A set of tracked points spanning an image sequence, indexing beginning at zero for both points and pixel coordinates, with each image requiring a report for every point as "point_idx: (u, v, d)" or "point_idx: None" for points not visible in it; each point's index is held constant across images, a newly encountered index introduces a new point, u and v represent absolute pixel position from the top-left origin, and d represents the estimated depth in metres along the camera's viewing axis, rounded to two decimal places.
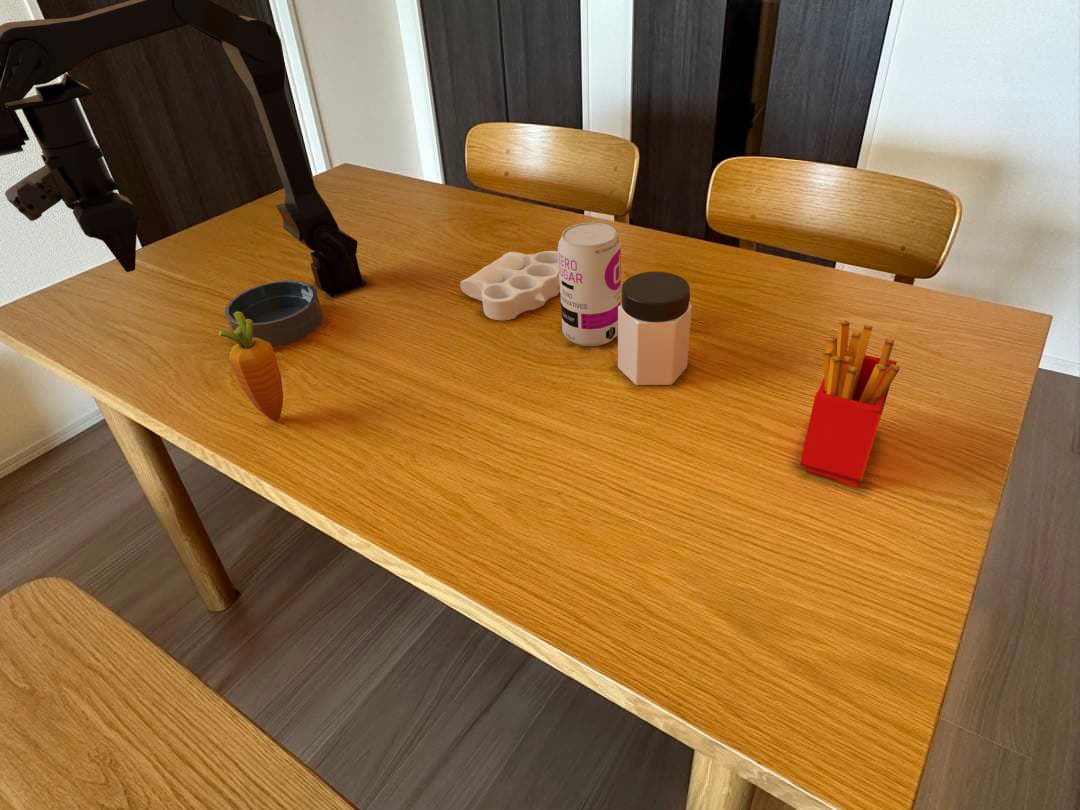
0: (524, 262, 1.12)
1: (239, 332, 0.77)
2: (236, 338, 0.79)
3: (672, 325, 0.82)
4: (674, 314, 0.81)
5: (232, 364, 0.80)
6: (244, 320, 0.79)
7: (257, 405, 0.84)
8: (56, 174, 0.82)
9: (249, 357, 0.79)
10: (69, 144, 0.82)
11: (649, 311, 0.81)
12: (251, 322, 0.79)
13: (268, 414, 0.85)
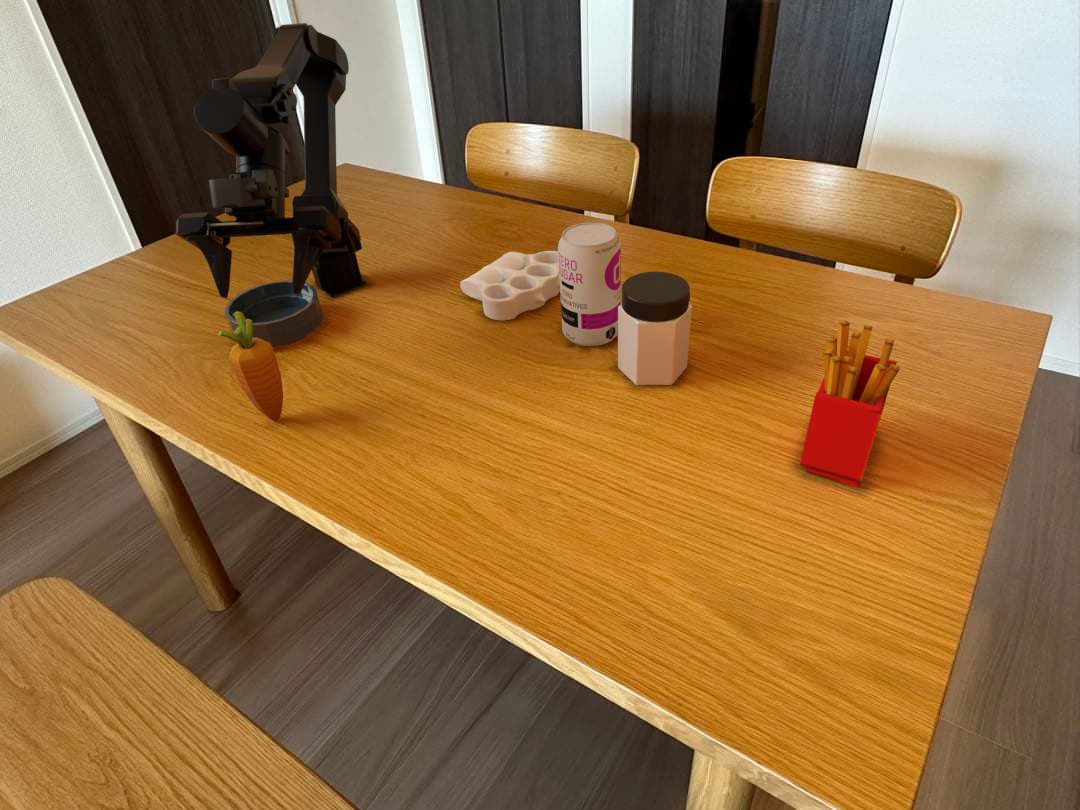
0: (524, 262, 1.12)
1: (239, 332, 0.77)
2: (236, 338, 0.79)
3: (672, 325, 0.82)
4: (674, 314, 0.81)
5: (232, 364, 0.80)
6: (244, 320, 0.79)
7: (257, 405, 0.84)
8: None
9: (249, 357, 0.79)
10: (282, 170, 0.87)
11: (649, 311, 0.81)
12: (251, 322, 0.79)
13: (268, 414, 0.85)
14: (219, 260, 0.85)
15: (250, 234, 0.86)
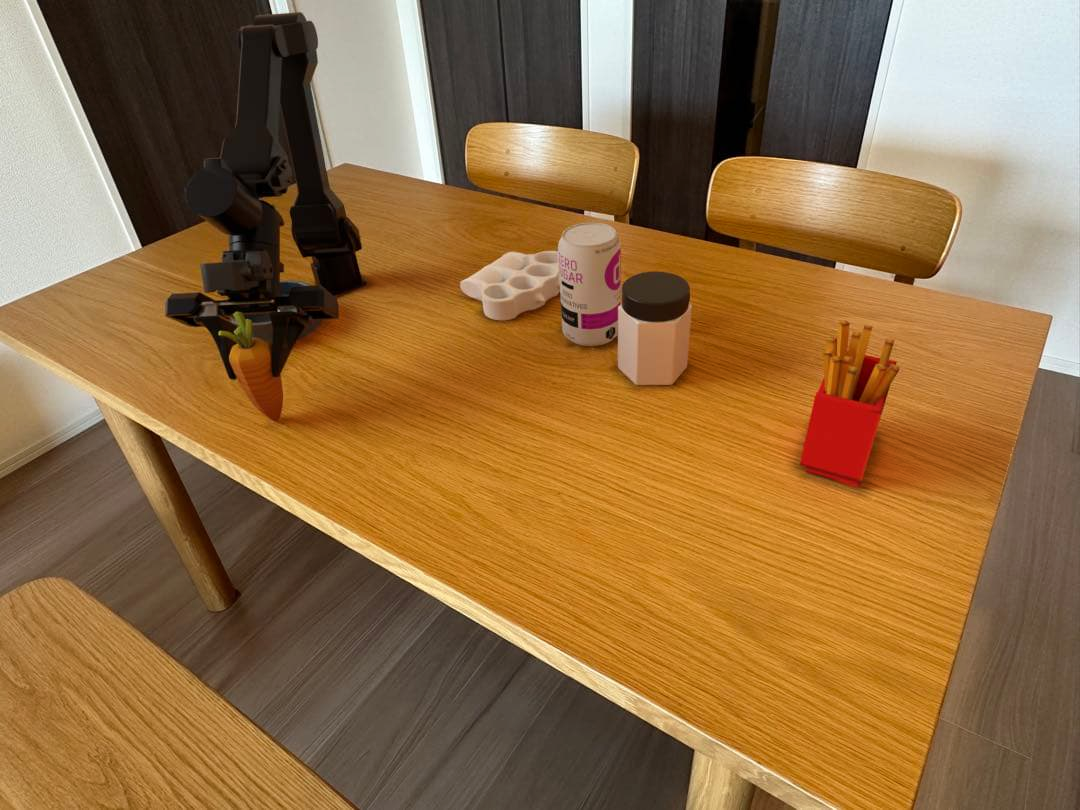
0: (524, 262, 1.12)
1: (239, 332, 0.77)
2: (236, 338, 0.79)
3: (672, 325, 0.82)
4: (674, 314, 0.81)
5: (232, 364, 0.80)
6: (244, 320, 0.79)
7: (257, 405, 0.84)
8: None
9: (248, 357, 0.79)
10: (276, 246, 0.83)
11: (649, 311, 0.81)
12: (251, 322, 0.79)
13: (268, 414, 0.85)
14: (228, 341, 0.81)
15: (243, 313, 0.82)
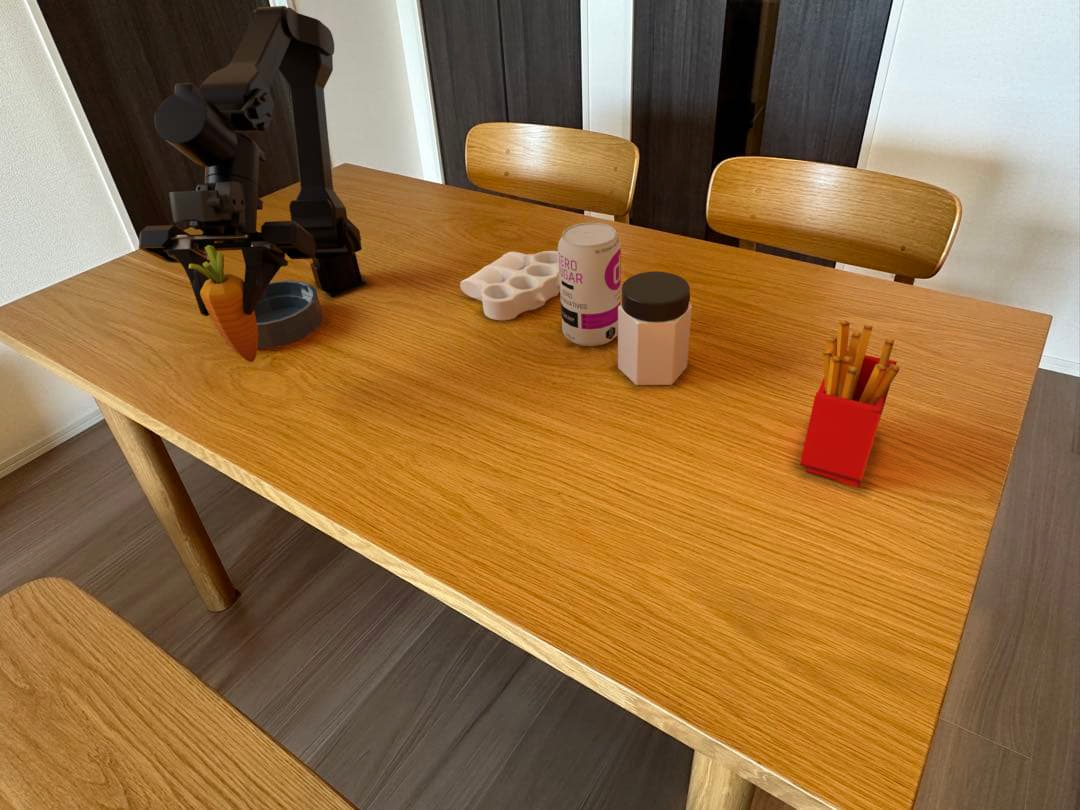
0: (524, 262, 1.12)
1: (208, 265, 0.75)
2: (207, 272, 0.77)
3: (672, 325, 0.82)
4: (674, 314, 0.81)
5: (203, 299, 0.79)
6: (216, 254, 0.78)
7: (230, 344, 0.82)
8: None
9: (219, 292, 0.77)
10: (254, 181, 0.81)
11: (649, 311, 0.81)
12: (222, 256, 0.77)
13: (242, 353, 0.83)
14: (201, 276, 0.80)
15: (218, 249, 0.81)
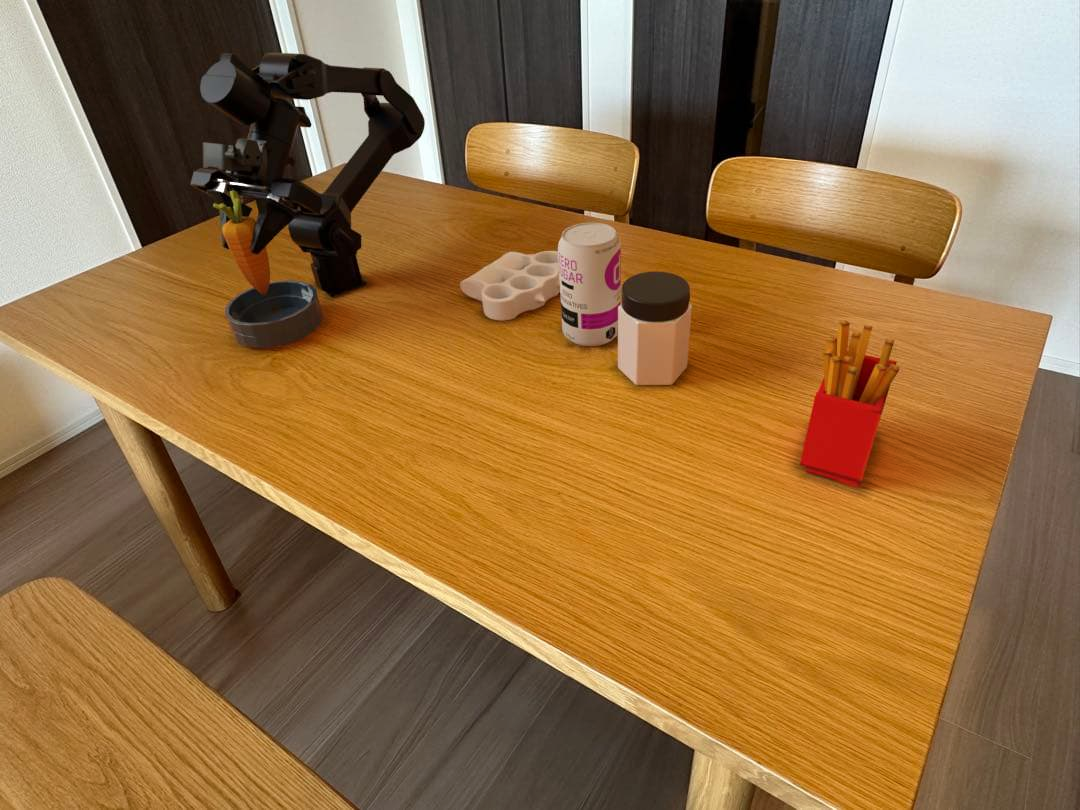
0: (524, 262, 1.12)
1: (222, 206, 0.90)
2: None
3: (672, 325, 0.82)
4: (674, 314, 0.81)
5: None
6: None
7: (244, 275, 0.97)
8: (264, 153, 0.92)
9: (232, 230, 0.92)
10: (285, 142, 0.94)
11: (649, 311, 0.81)
12: (239, 201, 0.92)
13: (253, 285, 0.98)
14: None
15: (248, 195, 0.96)
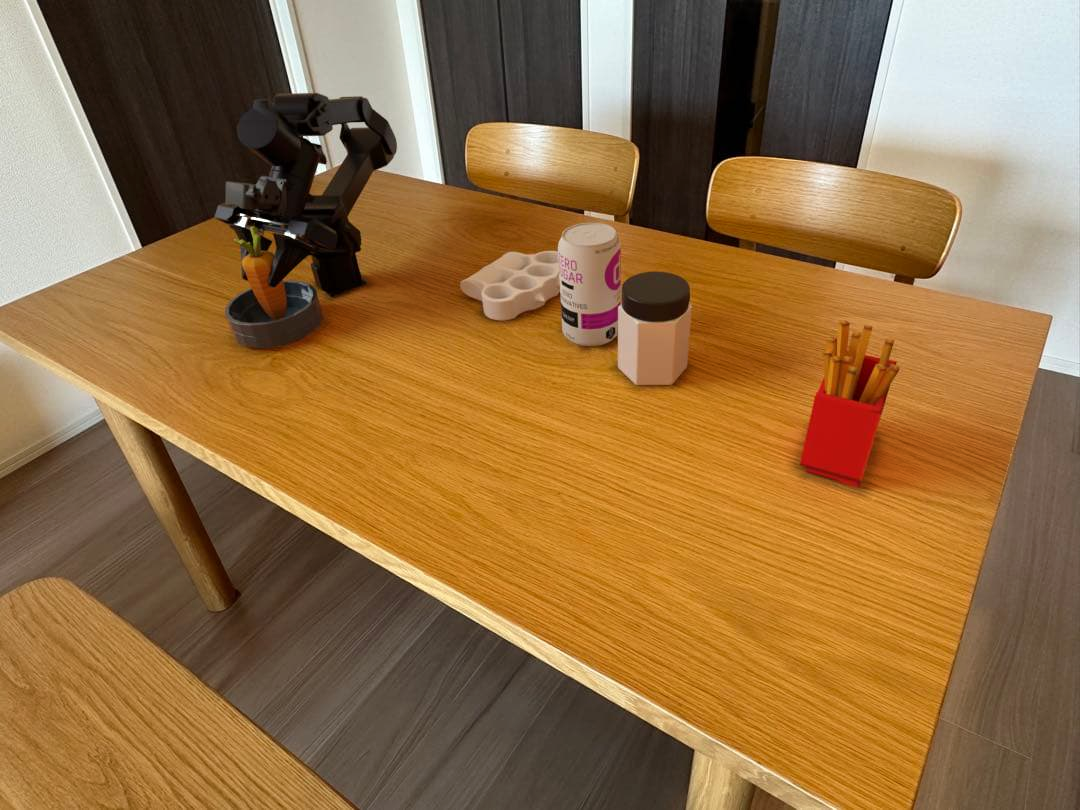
0: (524, 262, 1.12)
1: (242, 242, 0.94)
2: None
3: (672, 325, 0.82)
4: (674, 314, 0.81)
5: None
6: (257, 234, 0.96)
7: (262, 306, 1.01)
8: (284, 191, 0.96)
9: (250, 264, 0.96)
10: (308, 182, 0.99)
11: (649, 311, 0.81)
12: (258, 237, 0.96)
13: (270, 316, 1.02)
14: None
15: (268, 229, 1.00)
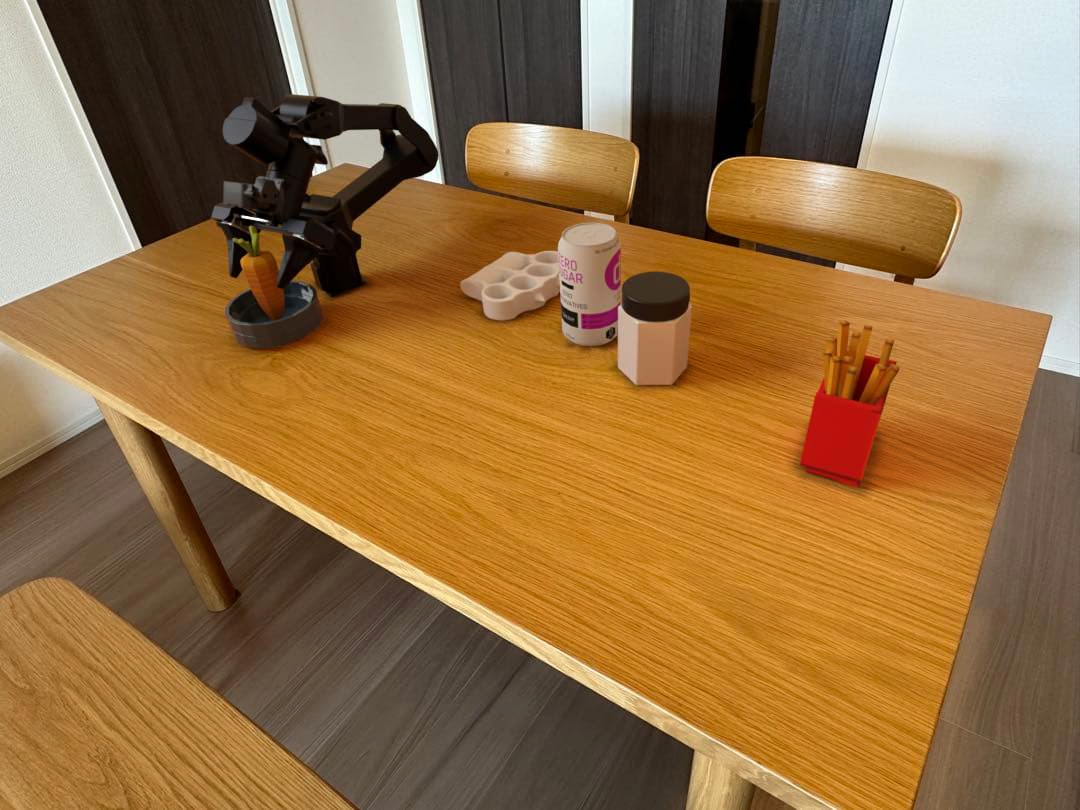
0: (524, 262, 1.12)
1: (241, 241, 0.95)
2: None
3: (672, 325, 0.82)
4: (674, 314, 0.81)
5: None
6: None
7: (260, 305, 1.02)
8: (281, 191, 0.96)
9: (249, 263, 0.97)
10: (302, 180, 0.99)
11: (649, 311, 0.81)
12: (257, 236, 0.96)
13: (268, 315, 1.03)
14: (237, 246, 1.01)
15: (265, 229, 1.00)
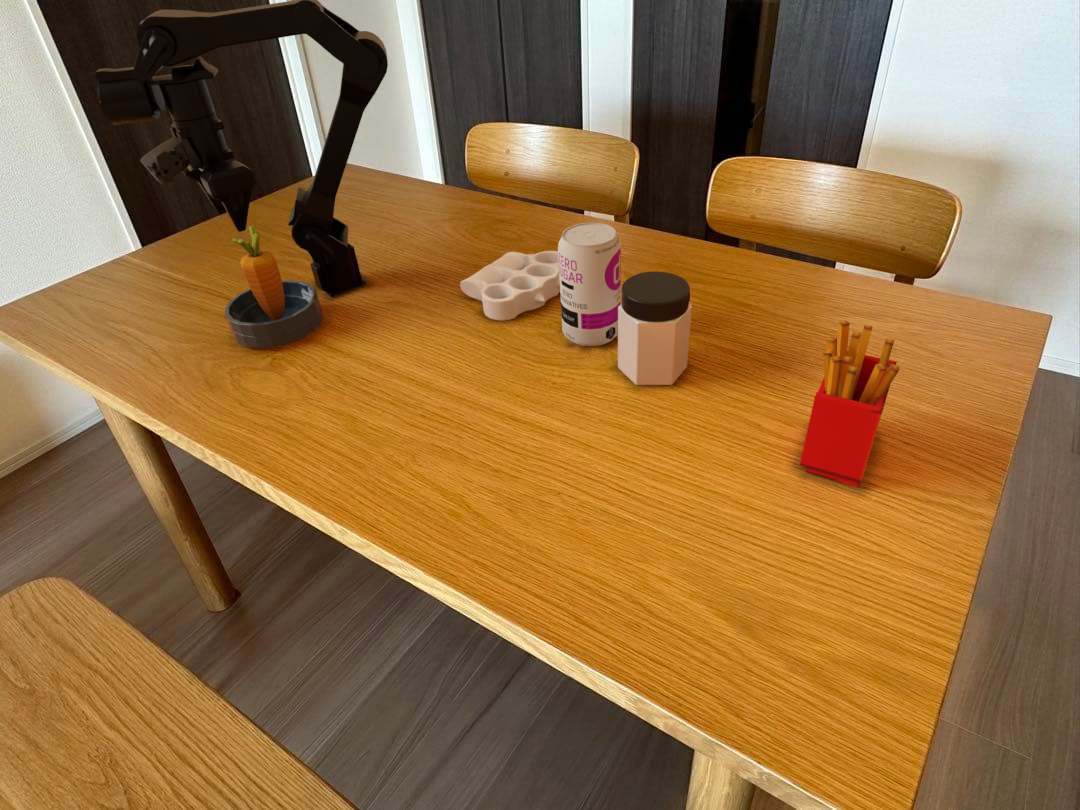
0: (524, 262, 1.12)
1: (241, 242, 0.95)
2: None
3: (672, 325, 0.82)
4: (674, 314, 0.81)
5: None
6: None
7: (260, 305, 1.02)
8: (186, 143, 0.95)
9: (250, 263, 0.97)
10: (188, 119, 0.94)
11: (649, 311, 0.81)
12: (257, 236, 0.96)
13: (268, 315, 1.03)
14: None
15: None
